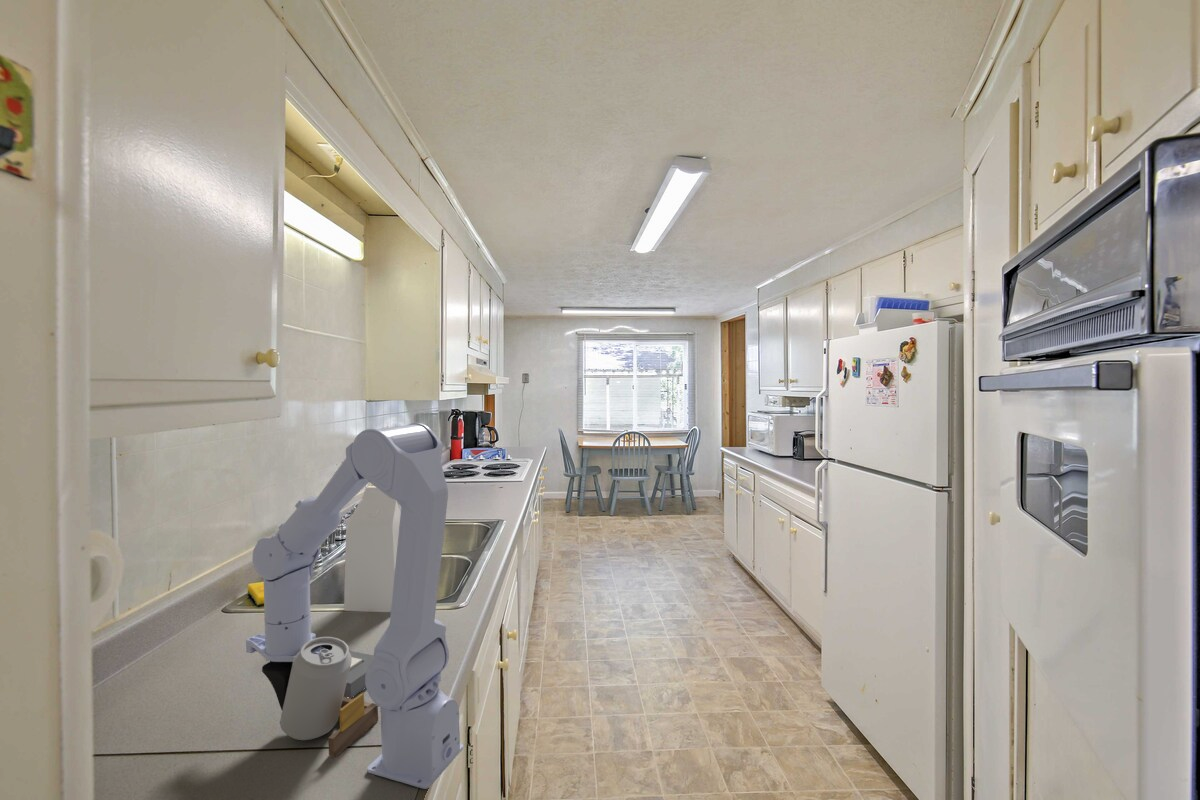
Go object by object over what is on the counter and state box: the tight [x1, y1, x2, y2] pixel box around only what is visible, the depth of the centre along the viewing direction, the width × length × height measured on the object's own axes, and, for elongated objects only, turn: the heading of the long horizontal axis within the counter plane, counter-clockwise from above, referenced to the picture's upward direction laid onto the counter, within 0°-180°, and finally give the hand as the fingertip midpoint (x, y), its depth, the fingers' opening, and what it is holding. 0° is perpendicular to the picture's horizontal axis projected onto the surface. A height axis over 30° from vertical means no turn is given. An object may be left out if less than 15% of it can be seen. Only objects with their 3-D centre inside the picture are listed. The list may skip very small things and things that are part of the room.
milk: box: [343, 485, 401, 613], centre depth 122 cm, size 12×12×26 cm
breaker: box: [350, 657, 362, 671], centre depth 90 cm, size 4×4×2 cm
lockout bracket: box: [327, 692, 379, 758], centre depth 77 cm, size 10×8×6 cm
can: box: [279, 636, 352, 741], centre depth 76 cm, size 8×8×12 cm
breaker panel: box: [343, 650, 374, 699], centre depth 90 cm, size 10×8×3 cm
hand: (289, 707), depth 78 cm, fingers closed, pressing on can
